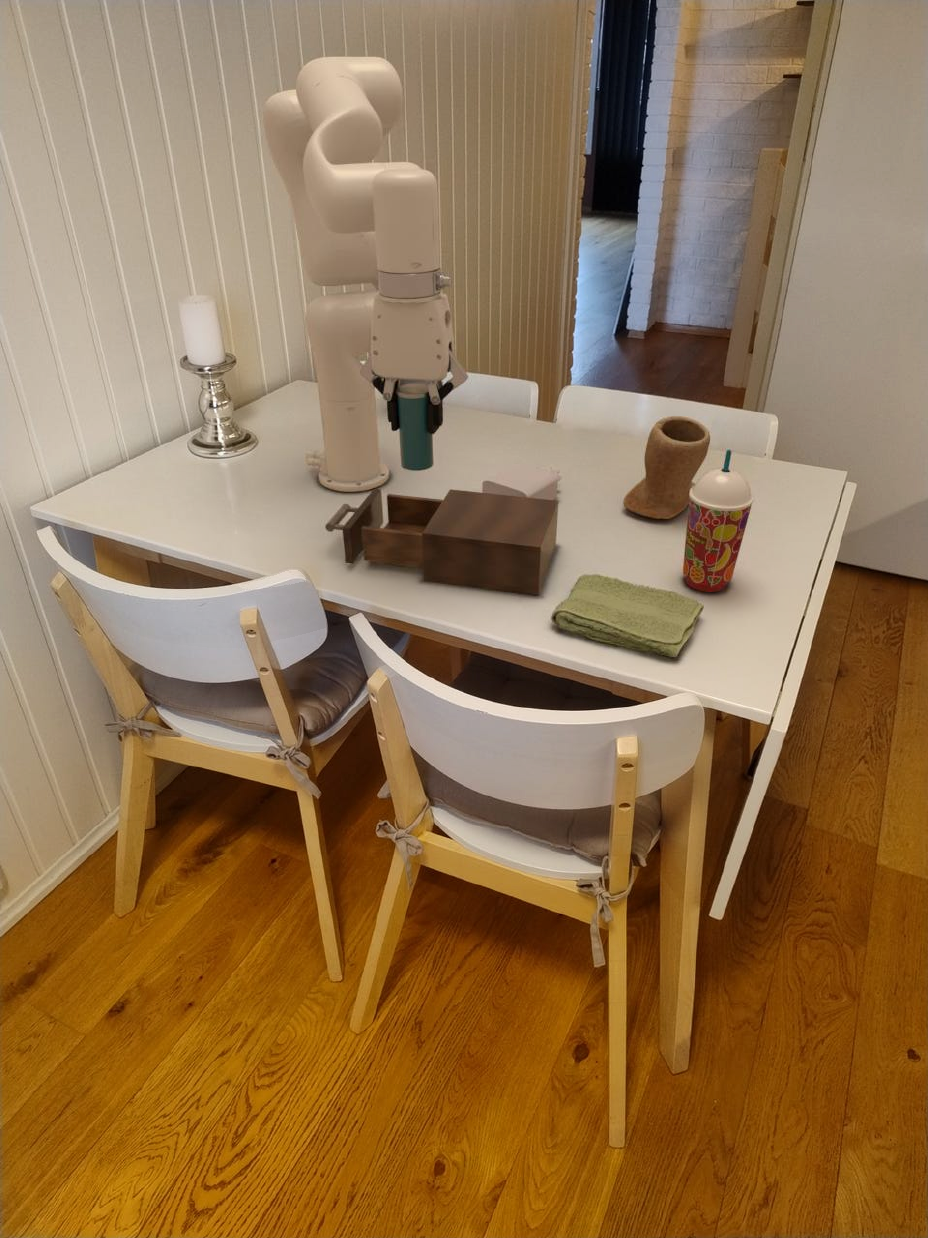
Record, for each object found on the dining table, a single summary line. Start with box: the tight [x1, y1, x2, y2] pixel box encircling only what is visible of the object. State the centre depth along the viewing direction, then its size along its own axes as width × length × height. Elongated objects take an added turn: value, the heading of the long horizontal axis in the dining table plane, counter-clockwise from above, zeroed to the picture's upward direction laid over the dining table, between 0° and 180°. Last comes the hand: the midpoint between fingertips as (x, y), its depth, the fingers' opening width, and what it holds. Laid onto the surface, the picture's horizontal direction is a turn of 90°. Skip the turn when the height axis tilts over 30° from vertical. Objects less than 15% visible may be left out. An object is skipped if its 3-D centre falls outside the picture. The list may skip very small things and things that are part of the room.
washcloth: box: [550, 573, 705, 658], centre depth 111 cm, size 13×18×3 cm
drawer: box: [324, 488, 444, 569], centre depth 126 cm, size 20×14×6 cm
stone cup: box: [622, 415, 711, 520], centre depth 137 cm, size 15×12×15 cm
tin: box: [396, 383, 434, 472], centre depth 111 cm, size 5×5×10 cm
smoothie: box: [682, 449, 755, 593], centre depth 114 cm, size 8×8×20 cm
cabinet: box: [422, 489, 559, 596], centre depth 123 cm, size 17×15×8 cm
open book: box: [481, 463, 562, 500], centre depth 143 cm, size 5×9×15 cm
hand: (415, 427), depth 111 cm, fingers closed on tin, 4 cm apart
